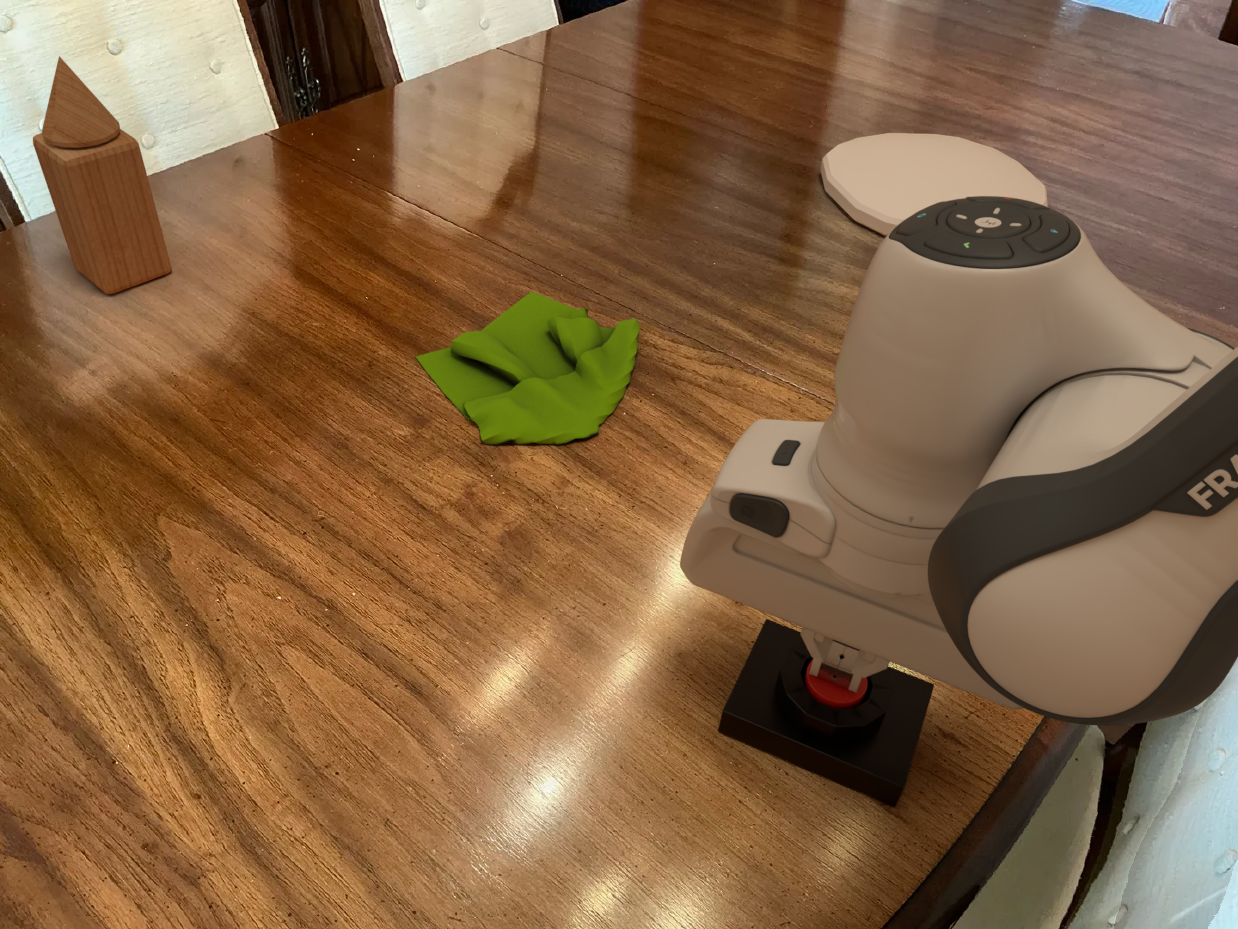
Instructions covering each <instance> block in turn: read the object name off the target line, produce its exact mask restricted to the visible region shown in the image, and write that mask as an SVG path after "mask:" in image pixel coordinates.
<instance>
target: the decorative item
mask: <svg viewBox="0 0 1238 929" xmlns="http://www.w3.org/2000/svg"><path fill="white" fill-rule="evenodd" d="M47 103H48V104H47V106H46V111H45V115H44V120H43V124H42V129H41V133H37V134H35V135H33V136H32V145H33V148H34V151H35V153H36V156H37V159H38V163H39V166H40V168H41V172H42V174H43V178H44V180H45V183H46V185H47V189H48V193H49V195H50V198H51V201H52V204H53V207H54V210H55V214H56V216H57V219H58V222H59V225H60V228H61V232H62V234H63V237H64V240H65V243H66V246H67V248H68V251H69V254H70V258H71V261H72V263H73V266H74V268H75V269H76V270H77V271H78V272H79V273H80V274H82V275H83V276H84V277H85V278H87V279H88V280H89V281H90V282H91V283H92V284H94V285H95V287H97V288H99V290H101V291H102V292H103V293H104V294H106V295H114V294H117V293H119V292H122V291H124V290H127V289H130V288H132V287H135V286H138V285H141V284H143V283H146V282H148V281H151V280H155V279H157V278H160V277H162V276H164V275H167V274H169V273H170V272H172V264H171V260H170V256H169V252H168V248H167V245H166V242H165V241H166V240H165V237H164V233H163V230H162V229H163V228H162V226H161V222H160V218H159V214H158V211H157V207H156V204H155V200H154V196H153V192H152V189H151V185H150V184H151V183H150V181H149V178H148V173H147V170H146V166H145V163H144V158H143V154H142V151H141V147H140V143H139V142H138V140H137V139H136V138H135V137H134V136H132V135H130V134H129V133H127V132H125V131H124V130H123V129H122V128H121V126H120V122H119V121H118V120H117V119H116V117H114V115H113V114H112V113H111V112H110V111H109V109H108V108H107V107H106V106H105V105H104V104H103V103H102V102H101V100H99V99H98V97H97V96H96V95H95V94H94V93H93V91H92V90H91V89H90V88H89V87H88V86H87V85H86V84H85V82H84V81H83V80H82V79H81V78H80V77H79V76H78V75H77V74H76V72H74V70H73V69H72V68H71V67H70V66H69V65H68V64H67V63H66V61H64V59H63V57H61V56H60V55H59V56H58V59H57V63H56V66H55V71H54V76H53V81H52V84H51V88H50V93H49V98H48V102H47Z"/></svg>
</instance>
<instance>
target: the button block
mask: <svg viewBox="0 0 1238 929" xmlns="http://www.w3.org/2000/svg"><path fill="white" fill-rule="evenodd" d="M800 634H801V631H799V630H797V629H794V628H791V627H788V626H786V625H784V624H781V623H778V622H776V621H773V620H771V619H768V618H766V619H765V620H764V622H763V625H762V627H761V629H760V630H759V633H758V635H757V637H756V639H755V641H754V643H753V645H752V648H751V649H750V651H749V654H748V656H747V658H746V660H745V662H744V664H743V666H742V668H741V671H740V673H739V675H738V677H737V679H736V681H735V683H734V685H733V688H732V689H731V691H730V693H729V696H728V698H727V700H726V702H725V704H724V707H723V708H722V711H721V715H720V720H719V724H718V728H717V732H718V733H720V734H722V735H725V736H726V737H730V739H734V740H736V741H739V742H741V743H744V744H745V745H748V746H750V747H752V748H755V749H758V750H759V751H762V752H764V753H766V754H769V755H771V756H773V757H775V758H778V759H780V760H783V761H785V762H787V763H790V764H792V765H795V766H797V767H799V768H801V769H803V770H806V771H809V772H811V773H813V774H816V775H817V776H820V777H823V778H825V779H827V780H829V781H832V782H834V783H836V784H839V785H841V786H843V787H845V788H848V789H850V790H853V791H855V792H857V793H859V794H862V795H864V796H866V797H869V798H871V799H873V800H876V801H878V802H880V803H883V804H884V805H888V806H890V807H892V808H896V807H897V805H898V804H899V801H900V798H901V797H902V795H903V792H904V790H905V788H906V785H907V781H908V777H909V774H910V771H911V767H912V764H913V760H914V757H915V753H916V749H917V746H918V744H919V739H920V736H921V733H922V729H923V726H924V722H925V719H926V716H927V712H928V709H929V705H930V702H931V698H932V695H933V691H934V687H935V684H934V683H932V682H930V681H927V680H924V679H922V678H919V677H917V676H915V675H912V674H909V673H906V672H904V671H902V670H900V669H896V668H895V667H892V666H889V665H888V667H887V669H885V670H882V671H880V672H878V673H875V674H873V675H870V676H868V677H867V682H868V685H867V690H866V693H865V695H864V698H863V701H862V703H861V705H859V706H858V707H856V708H854V709H834V708H832V707H829V706H827V705H824V704H822V703H820V702H817V701H816V700H815V699H814V698H813V697H812V696H811V695H810V694H809V693H808V692H807V691H806V689H805V688H804V684H803V681H804V678H805V674H806V671H807V668H808V665H809V663H810V662H811V661H812V660H813V659H814V658H813V657H811V655H810V653H809V651H808V649H807V647H806V645H805V643H804V641H803V639H802V637H801V635H800ZM833 641H835V642H837V643H840V644H842V645H844V646H847V647H850V648H852V649H855V650H858V651H860V650H859V649H856V648H854V647H851V646H849V645H846V644H844V643H841V642H838V641H836V640H833Z"/></svg>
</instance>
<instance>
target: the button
mask: <svg viewBox="0 0 1238 929" xmlns="http://www.w3.org/2000/svg"><path fill="white" fill-rule="evenodd" d="M812 662H813V660H812V661H811V662H810V663H809V665H808V668H807V671H806V674H805V678H804V681H803V684H804V688H805V689H806V691H807V692H808V693H809V694H810V695H811V696H812V697H813V698H814V699H815V700H816V701H817V702H820V703H822V704H824V705H827V706H829V707H832V708H834V709H854V708H856V707H858V706H859V705H861V703H862V701H863V698H864V695H865V693H866V690H867V685H868V682H867V677H866V678H863V677H862V679H861V682H860V684H859V687H858V690H857V692H856V693H855V692H853V691H850V690H848V689H849V688H848V689H845V688H843V687H841V686H838V685H836V684H834V683H831V682H829V681H826V680H824V679H821V678H819V677H816V676H813V675H810V674H809V672H810V668H811V665H812Z"/></svg>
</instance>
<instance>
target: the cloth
mask: <svg viewBox="0 0 1238 929" xmlns="http://www.w3.org/2000/svg"><path fill="white" fill-rule="evenodd" d="M640 330H641V326H640V323H639V320H638V318H628V319H623V320H619V321H618V322H617V324H616V326H615V327H604V326H600V325H599V323H598V322H597V321H596V320H594V319H593V318H590V317H589V309H588V308H585V307H582V308H578V309H577V308H574V307H572V306H569V305H567V304H564V303H562V302H560V301H557V300H555V299H552V298H550V297H549V296H545V295H542V294H539V293H537V292H535V291H530V292H528V294H526V295H524V296H523V297H522V298H521V299H519V300H518V301H517V302H515V303H514V304H513V305H512V306H511V307H509V308H507V310H505V311H503V313H501V314H500V315H499V316H498V317H496V318H495V319H494V320H492V321H491V322H489V324H487V325H485V327H483V328H482V329H481V330H470V331H465V332H463V333H461V334H460V335H458V336H457V337H455V338H453V339H452V340H451V344H450V346H449V347H446V348H441V349H438V350H434V351H431V352H426V353H424V354H420V355H417V356H415V359H416V361H418V363H419V364H420V366H421V367H422V368H423V370H424V371H425V372H426V374H427V375H428V376H429V377H430V378H431V380H432V381H433V382H434V383H435V384H436V386H437V387H438V388H439V390H440V391H441V393H442V394H443V395H444V396H445V397H446V398H447V399H448V400H449V401H450V402H451V403H452V404H453V405H454V407H456V409H457V411H459V412H460V414H462V416H463V417H464V418H465V419H467V420H469V421H471V422H474V423H475V424H476V425H477V427H478V429H479V435H480V439H481V441H482V442H483V443H484V445H489V446H490V445H491V446H498V445H500V444H505V443H507V444H512V445H529V444H533V443H534V444H536V445H552V446H553V445H554V446H560V445H565V444H567V443H570V442H571V441H573V440H575V439H587V438H590V437H593V436H595V435H599V434H600V425H601V424H603V423H605V421H606V420H607V418H608V417H609V416H610V415H611V414H612V413H613V412H614V411H616V409H617V407H618V405H619V403H620V400H622V399H623V398H624V396H625V394H626V391H627V385H628V384H629V383H631V380H632V379H631V374H632V373H633V370H634V368H635V365H636V355H637V352H638V351H639V342H638V337H639V336H638V335H639V333H640Z"/></svg>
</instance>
